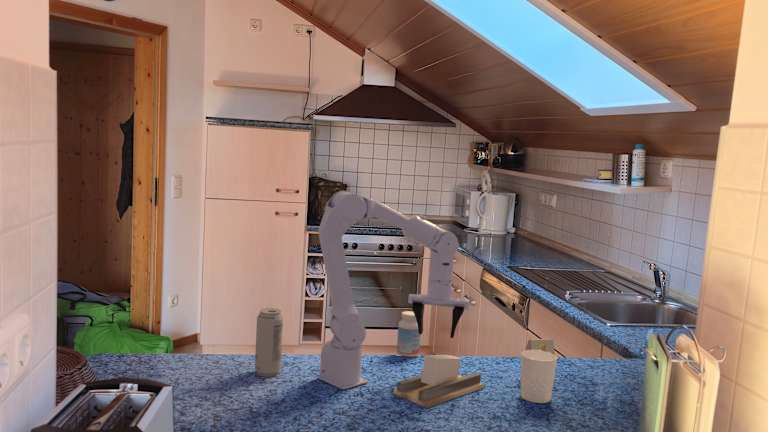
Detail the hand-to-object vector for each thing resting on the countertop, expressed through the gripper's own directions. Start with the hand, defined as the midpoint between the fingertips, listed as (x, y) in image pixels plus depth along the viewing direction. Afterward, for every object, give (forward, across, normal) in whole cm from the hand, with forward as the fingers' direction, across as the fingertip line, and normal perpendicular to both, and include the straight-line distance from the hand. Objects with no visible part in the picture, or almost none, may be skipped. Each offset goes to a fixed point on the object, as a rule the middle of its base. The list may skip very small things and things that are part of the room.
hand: (436, 335), depth 157 cm
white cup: (+11, +24, -5) cm, 27 cm away
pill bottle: (+11, -9, +16) cm, 21 cm away
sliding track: (+10, +2, -9) cm, 14 cm away
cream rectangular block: (+8, +2, -10) cm, 13 cm away
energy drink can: (+11, -38, -12) cm, 41 cm away
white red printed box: (+11, +25, +9) cm, 28 cm away
